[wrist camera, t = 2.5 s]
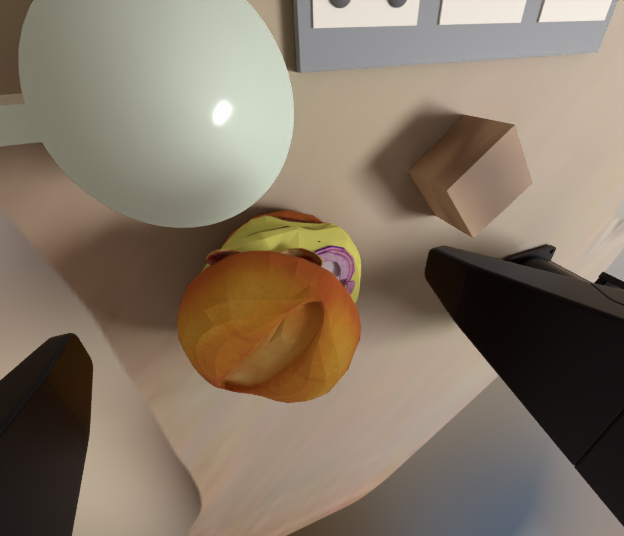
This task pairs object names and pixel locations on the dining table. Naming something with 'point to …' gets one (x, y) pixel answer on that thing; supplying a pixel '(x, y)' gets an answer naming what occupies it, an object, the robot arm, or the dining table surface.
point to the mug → (155, 104)
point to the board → (442, 31)
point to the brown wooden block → (472, 173)
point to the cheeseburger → (275, 309)
